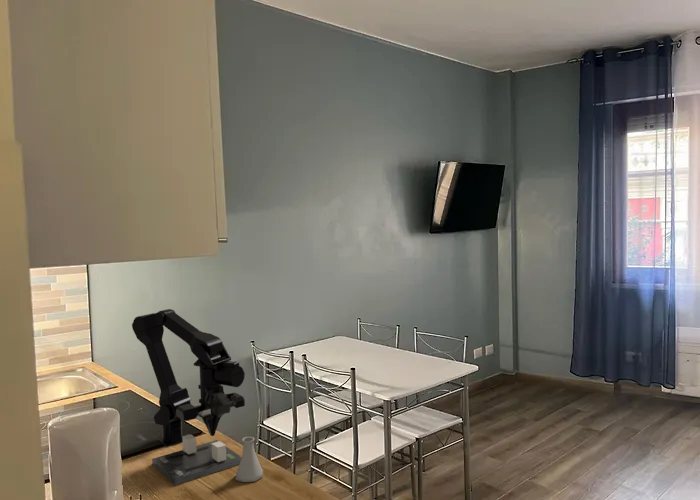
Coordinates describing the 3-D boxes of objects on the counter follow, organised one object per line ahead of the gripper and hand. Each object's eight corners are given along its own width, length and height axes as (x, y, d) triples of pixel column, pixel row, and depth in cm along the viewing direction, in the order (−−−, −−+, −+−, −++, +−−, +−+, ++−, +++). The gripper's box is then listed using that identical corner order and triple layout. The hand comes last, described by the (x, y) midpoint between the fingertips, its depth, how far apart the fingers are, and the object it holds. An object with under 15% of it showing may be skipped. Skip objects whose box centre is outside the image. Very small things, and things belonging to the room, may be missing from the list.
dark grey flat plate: (152, 464, 156) (152, 458, 156) (216, 445, 168) (216, 439, 168) (175, 485, 143) (175, 479, 143) (243, 463, 155) (242, 457, 155)
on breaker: (212, 457, 155) (211, 443, 154) (220, 455, 156) (219, 441, 156) (218, 462, 152) (217, 447, 152) (226, 459, 153) (225, 445, 153)
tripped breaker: (183, 450, 160) (182, 436, 160) (191, 447, 161) (190, 434, 161) (188, 454, 157) (187, 440, 157) (196, 451, 159) (195, 437, 158)
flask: (257, 484, 143) (256, 445, 143) (230, 482, 145) (229, 443, 144) (267, 471, 150) (266, 434, 150) (241, 469, 152) (240, 432, 151)
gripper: (191, 396, 150) (193, 453, 151) (253, 381, 162) (255, 435, 163) (174, 386, 159) (176, 441, 160) (234, 373, 171) (236, 424, 172)
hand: (212, 435), depth 164 cm, fingers closed
